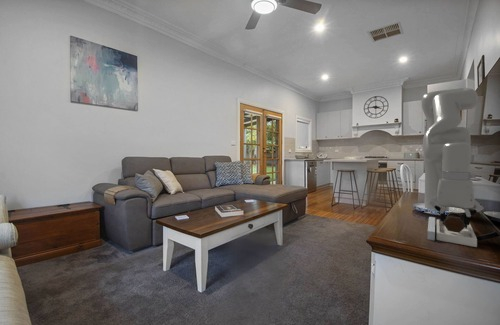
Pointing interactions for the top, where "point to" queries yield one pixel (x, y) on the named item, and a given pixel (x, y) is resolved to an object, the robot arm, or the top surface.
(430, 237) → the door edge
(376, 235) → the top surface
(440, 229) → the tray
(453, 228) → the dark brown dumbbell
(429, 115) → the robot arm
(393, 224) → the top surface
